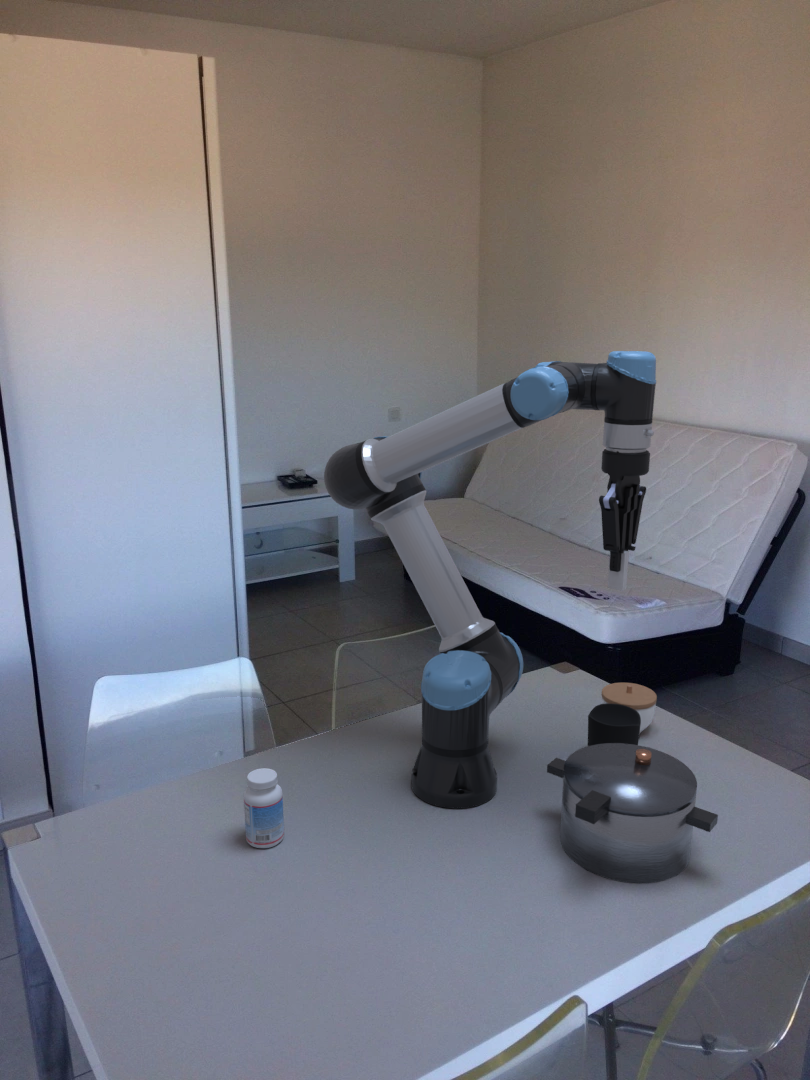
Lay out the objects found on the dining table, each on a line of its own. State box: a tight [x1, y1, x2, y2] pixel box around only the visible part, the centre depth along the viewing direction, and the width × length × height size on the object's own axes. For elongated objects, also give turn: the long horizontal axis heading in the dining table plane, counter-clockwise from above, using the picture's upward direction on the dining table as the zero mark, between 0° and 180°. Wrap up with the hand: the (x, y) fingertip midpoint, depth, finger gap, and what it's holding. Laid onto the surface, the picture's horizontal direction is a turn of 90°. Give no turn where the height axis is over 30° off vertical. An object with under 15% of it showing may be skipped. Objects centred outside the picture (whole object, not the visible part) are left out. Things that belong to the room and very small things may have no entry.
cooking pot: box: [546, 757, 719, 884], centre depth 138 cm, size 27×20×11 cm
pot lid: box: [563, 743, 698, 824], centre depth 134 cm, size 20×24×3 cm
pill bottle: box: [243, 767, 285, 849], centre depth 139 cm, size 6×6×11 cm
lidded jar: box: [600, 682, 658, 735], centre depth 176 cm, size 11×11×9 cm
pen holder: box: [587, 703, 641, 746], centre depth 162 cm, size 9×9×10 cm
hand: (616, 588), depth 148 cm, fingers closed
